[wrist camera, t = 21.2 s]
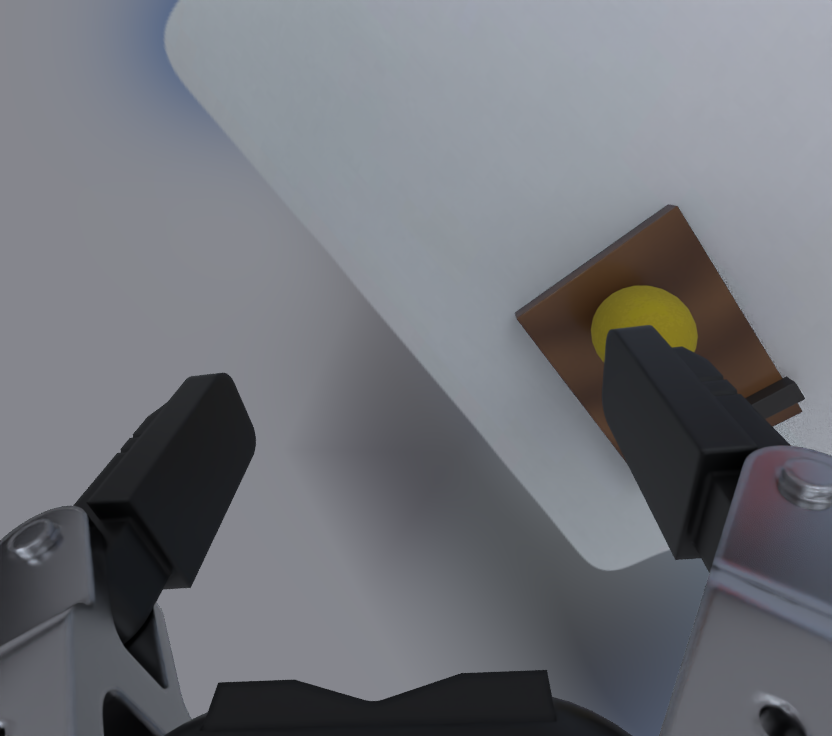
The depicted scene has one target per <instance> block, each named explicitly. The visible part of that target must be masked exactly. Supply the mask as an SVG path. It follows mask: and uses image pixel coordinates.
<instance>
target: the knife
mask: <svg viewBox="0 0 832 736" xmlns="http://www.w3.org/2000/svg"><path fill="white" fill-rule="evenodd" d="M745 399H746V400H747V401H748V402H749V403H750V404H751V405H752V406H753V407H754V408H755V409H756V410H757V411H758V412H759V413H760V414H761V415H762V416H763V417H764V419H767V418H769V417H771V416H773V415H775V414H777V413H779V412H781V411H782V410H784V409H786V408H788V407H790V406H792V405H794V404H796V403H798V402H800V401H802V400H804V399H805V398H804V396H803V394H802V393H801V391H800V389H799V388H798V386H797V384H796V383H795V382H794V381H792V380H791V379H789V378H788V377H785V378H783V379H781V380H779V381H777V382H775V383H773V384H771V385H769V386H767V387H766V388H764V389H762V390H760V391H758V392H756V393H754V394H752V395H750V396H749V397H747V398H745Z"/></svg>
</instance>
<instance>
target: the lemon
mask: <svg viewBox="0 0 832 736" xmlns="http://www.w3.org/2000/svg"><path fill="white" fill-rule="evenodd" d="M644 325H651V326H653V327H654V328H655V329H656V330H657V331H658V332H659V334H660V335H661V336H662V337H663V338H664V339H665V340H666V342H667V343H668V344H669V345H670V346H671V347H681V346H683V347H685V348H686V349H688V350H690V351H692V352H695V349H696V346H697V339H698V334H697V328H696V323H695V321H694V319H693V317H692V315H691V313H690V311H689V309H688V308H687V307H686V306H685V305H684V304H683V303H682V302H681V301H680V299H679V298H677V297H676V296H674V295H673V294H671V293H669V292H667V291H665V290H663V289H660V288H656V287H652V286H631V287H627V288H623V289H621V290H619V291H617V292H615V293H613V294H611V295H610V296H609V297H608V298H606V299H605V300H604V301H603V302H602V304H601V305H600V306H599V307H598V309H597V311H596V313H595V315H594V317H593V321H592V326H591V336H592V342H593V345H594V348H595V350H596V353H597V354H598V356H599V357H600V358H601V360H602V361H603V362H604V359H605V346H606V338H607V334H608V332H609V330H611V329H618V328H627V327H635V326H644Z"/></svg>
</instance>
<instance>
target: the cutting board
mask: <svg viewBox="0 0 832 736" xmlns="http://www.w3.org/2000/svg"><path fill="white" fill-rule="evenodd" d="M631 286H652V287H656V288H660V289H663V290H665V291H667V292H669V293H671V294H673V295H674V296H676V297H677V298H679V299H680V301H681V302H682V303H683V304H684V305H685V306H686V307H687V308H688V309H689V311H690V313H691V315H692V317H693V319H694V321H695V323H696V328H697V334H698V339H697V346H696V349H695V352H694V353H696V354H698V355H700V356H702V357H704V358H706V359H708V360H709V361H710V362H711V364H712V365H713V366H714V367H715V368H716V369H717V370H718V371H719V372H720V373H721V374H722V375H723V378H724V380H726V379H727V380H728V381H729V382H730V383H731V384H732V385H733V386H734V387H735V388H736V389H737V393H738V394H741V395H742V396H743V397H744V398H747V397H749V396H750V395H752V394H754V393H756V392H758V391H760V390H762V389H764V388H766V387H767V386H769V385H771V384H773V383H775V382H777V381H779V380H781V379H782V377H781V375H780V374H779V372H778V370H777V369H776V367H775V365H774V364H773V362H772V360H771V359H770V357H769V356H768V354H767V352H766V351H765V349H764V347H763V346H762V344H761V342H760V341H759V339H758V337H757V336H756V334H755V333H754V331H753V329H752V328H751V326H750V324H749V323H748V321H747V319H746V318H745V316H744V314H743V313H742V311H741V310H740V308H739V306H738V305H737V303H736V301H735V300H734V298H733V296H732V295H731V293H730V291H729V290H728V288H727V286H726V285H725V283H724V282H723V280H722V278H721V277H720V275H719V273H718V272H717V270H716V268H715V267H714V265H713V263H712V262H711V260H710V259H709V257H708V255H707V254H706V252H705V250H704V249H703V247H702V245H701V244H700V242H699V240H698V239H697V237H696V236H695V234H694V232H693V231H692V229H691V227H690V226H689V224H688V222H687V221H686V219H685V217H684V216H683V214H682V213H681V211H680V209H679V208H678V206H674V205H667V206H665V207H664V208H662V209H661V210H660V211H658V212H657V213H655V214H654V215H653V216H651V217H650V218H648V219H647V220H645V221H644V222H643V223H641V224H640V225H638V226H637V227H636V228H634V229H633V230H631V231H630V232H628V233H627V234H626V235H624V236H623V237H621V238H620V239H619V240H617V241H616V242H614V243H613V244H611V245H610V246H609V247H607V248H606V249H604V250H603V251H602V252H600V253H599V254H597V255H596V256H594V257H593V258H592V259H590V260H589V261H587V262H586V263H585V264H583V265H582V266H580V267H579V268H578V269H576V270H575V271H573V272H572V273H570V274H569V275H568V276H566V277H565V278H563V279H562V280H561V281H559V282H558V283H556V284H555V285H553V286H552V287H551V288H549V289H548V290H546V291H545V292H544V293H542V294H541V295H539V296H538V297H536V298H535V299H534V300H532V301H531V302H529V303H528V304H527V305H525V306H524V307H522V308H521V309H519V310H518V311H517V312H515V315H516V318H517V320H518V321H519V323H520V324H521V325H522V327H523V328H524V329H525V330H526V332H527V333H528V334H529V336H530V337H531V338H532V340H533V341H534V342H535V344H536V345H537V346H538V347H539V349H540V350H541V351H542V353H543V354H544V355H545V357H546V358H547V359H548V361H549V362H550V363H551V364H552V366H553V367H554V368H555V370H556V371H557V372H558V374H559V375H560V376H561V378H562V379H563V380H564V382H565V383H566V384H567V385H568V387H569V388H570V389H571V391H572V392H573V393H574V395H575V396H576V397H577V399H578V400H579V401H580V402H581V404H582V405H583V406H584V408H585V409H586V410H587V412H588V413H589V414H590V416H591V417H592V418H593V420H594V421H595V422H596V423H597V425H598V426H599V427H600V429H601V430H602V431H603V433H604V434H605V435H606V437H607V438H608V439H609V440H610V442H611V443H612V444H613V446H614V447H615V448H616V450H617V451H618V452H619V454H620V455H621V456H622V457H623V459H624V460H625V458H624V456H623V454H622V452H621V450H620V448H619V446H618V444H617V442H616V440H615V438H614V436H613V434H612V432H611V430H610V428H609V426H608V424H607V421H606V419H605V415H604V411H603V405H602V385H603V372H604V362H603V361H602V360H601V358H600V357H599V356H598V354H597V353H596V350H595V348H594V345H593V342H592V336H591V326H592V321H593V317H594V315H595V313H596V311H597V309H598V307H599V306H600V305H601V304H602V302H603V301H604V300H605V299H606V298H608V297H609V296H610V295H611V294H613V293H615V292H617V291H619V290H621V289H623V288H627V287H631ZM801 412H802V410H801V408H800V406H799V405H798V403H796V404H794V405H792V406H790V407H788V408H786V409H784V410H782V411H781V412H779V413H777V414H775V415H773V416H771V417H769V418H767V419H765V420H766V421H767V422H768V423H769V424H770V425H771V426H772V427H773V426H775V425H777V424H779V423H781V422H783V421H785V420H787V419H789V418H791V417H793V416H795V415H797V414H799V413H801ZM625 461H626V460H625ZM626 463H627V462H626Z"/></svg>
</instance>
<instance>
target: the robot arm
mask: <svg viewBox="0 0 832 736" xmlns="http://www.w3.org/2000/svg"><path fill="white" fill-rule="evenodd" d="M602 405H603V411H604V415H605V419H606V421H607V424H608V426H609V428H610V430H611V432H612V434H613V436H614V438H615V440H616V442H617V444H618V446H619V448H620V450H621V452H622V454H623V456H624V458H625V460H626V462H627V464H628V466H629V468H630V470H631V472H632V474H633V476H634V478H635V480H636V482H637V484H638V486H639V488H640V490H641V492H642V494H643V496H644V498H645V500H646V502H647V504H648V506H649V508H650V510H651V512H652V514H653V516H654V518H655V520H656V522H657V524H658V526H659V528H660V530H661V532H662V534H663V536H664V538H665V540H666V542H667V544H668V546H669V548H670V550H671V552H672V554H673V556H674V558H675V559H676V560H678V559H694V558H702V560H703V562H704V564H705V566H706V567H707V569H708V571H709V573H710V574H709V577H708V580H707V583H706V586H705V589H704V593H703V596H702V599H701V603H700V606H699V609H698V612H697V615H696V619H695V622H694V626H693V628H692V631H691V635H690V638H689V641H688V644H687V648H686V651H685V654H684V657H683V660H682V664H681V667H680V670H679V673H678V677H677V680H676V683H675V686H674V689H673V693H672V696H671V699H670V702H669V706H668V709H667V712H666V715H665V719H664V722H663V725H662V728H661V731H660V735H659V736H832V456H830V455H828V454H825V453H822V452H819V451H815V450H812V449H807V448H803V447H796V446H791V445H790V444H789V443H788V442H787V441H786V440H785V439H784V438H783V437H782V436H781V435H780V434H779V433H778V432H777V431H776V430H775V429H774V428H773V427H772V426H771V425H770V424H769V423H768V422H767V421H766V420H765V419H764V417H763V416H762V415H761V414H760V413H759V412H758V411H757V410H756V409H755V408H754V407H753V406H752V405H751V404H750V403H749V402H748V401H747V400H746V399H745V398H744V397H743V396H742V395H741V394H738V393H737V389H736V388H735V387H734V386H733V385H732V384H731V383H730V382H729V381H728V380H727V379H726V380H724V378H723V375H722V374H721V373H720V372H719V371H718V370H717V369H716V368H715V367H714V366H713V365H712V364H711V362H710V361H709V360H708V359H706V358H704V357H702V356H700V355H698V354H696V353H694V352H692V351H690V350H688V349H686V348H685V347H683V346H681V347H671V346H670V345H669V344H668V343H667V342H666V340H665V339H664V338H663V337H662V336H661V335H660V334H659V332H658V331H657V330H656V329H655V328H654V327H653V326H651V325H644V326H635V327H627V328H618V329H611V330H609V332H608V334H607V338H606V346H605V359H604V372H603V385H602ZM255 446H256V436H255V431H254V427H253V425H252V423H251V420H250V418H249V416H248V413H247V411H246V409H245V406H244V404H243V402H242V400H241V397H240V395H239V393H238V391H237V388H236V386H235V383H234V382H233V380H232V378H231V377H230V376H229V375H228V374H226V373H217V374H207V375H199V376H191V377H189V378H187V379H186V380H185V381H184V383H183V384H182V385H181V386H180V388H179V389H178V390H177V391H176V392H175V394H174V395H173V396H172V397H171V399H170V400H169V401H168V402H167V403H166V404H164V405H163V406H162V407H160V408H159V409H158V410H156V411H155V412H154V413H152V414H151V415H150V416H148V417H147V418H146V419H145V421H144V422H143V423H142V424H141V425H140V427H139V428H138V429H137V430H136V431H135V432H134V434H133V438H129V440H128V441H127V442H126V443H125V444H124V446H123V447H122V448H121V453H117V454H116V455H115V456H114V458H113V459H112V460H111V461H110V462H109V464H108V465H107V466H106V467H105V468H104V470H103V471H102V472H101V473H100V475H99V476H98V477H97V478H96V479H95V480H94V482H93V483H92V484H91V485H90V487H88V489H87V490H86V491H85V492H84V493H83V495H82V496H81V497H80V498H79V499H78V501H77V502H76V503H75V504H74V505H73V506H62V507H58V508H54V509H51V510H48V511H45V512H43V513H41V514H39V515H36V516H34V517H32V518H31V519H29V520H27V521H26V522H24V523H22V524H21V525H19V526H18V527H16V528H15V529H13V530H12V531H11V532H10V533H8V534H7V535H6V536H5V537H4V538H3V539H2V540H0V736H632V735H630V734H629V733H628V732H626V731H625V730H623V729H622V728H620V727H619V726H618V725H616V724H614V723H613V722H611V721H609V720H607V719H606V718H604V717H602V716H600V715H599V714H597V713H595V712H593V711H591V710H589V709H586V708H584V707H581V706H579V705H576V704H574V703H572V702H569V701H565V700H562V699H558V698H554V697H552V695H551V690H550V684H549V679H548V674H547V670H535V671H509V672H483V673H461V674H458V675H455V676H452V677H449V678H446V679H443V680H440V681H437V682H434V683H431V684H428V685H426V686H422V687H419V688H416V689H413V690H410V691H407V692H404V693H402V694H399V695H395V696H393V697H390V698H387V699H384V700H380V701H366V700H362V699H359V698H355V697H352V696H349V695H345V694H342V693H338V692H335V691H331V690H328V689H324V688H321V687H318V686H314V685H311V684H307V683H304V682H300V681H297V680H274V681H249V682H222V683H218V685H217V688H216V691H215V694H214V697H213V699H212V702H211V705H210V708H209V711H208V712H207V713H205V714H203V715H201V716H198V717H196V718H194V719H191V717H190V715H189V713H188V711H187V709H186V707H185V704H184V702H183V698H182V695H181V691H180V686H179V682H178V677H177V673H176V668H175V664H174V659H173V655H172V651H171V647H170V641H169V637H168V633H167V628H166V624H165V619H164V615H163V612H162V609H161V608H160V606H159V605H158V604H157V603H156V601H157V599H158V597H159V595H160V593H161V592H162V590H163V589H175V588H191V586H192V584H193V582H194V580H195V577H196V575H197V573H198V571H199V569H200V567H201V565H202V563H203V561H204V558H205V556H206V554H207V552H208V550H209V548H210V546H211V543H212V541H213V539H214V537H215V535H216V533H217V531H218V529H219V527H220V525H221V523H222V520H223V518H224V516H225V514H226V512H227V510H228V508H229V506H230V504H231V501H232V499H233V497H234V495H235V493H236V491H237V489H238V487H239V485H240V482H241V480H242V478H243V476H244V474H245V472H246V470H247V468H248V465H249V463H250V461H251V459H252V457H253V455H254V451H255Z"/></svg>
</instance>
